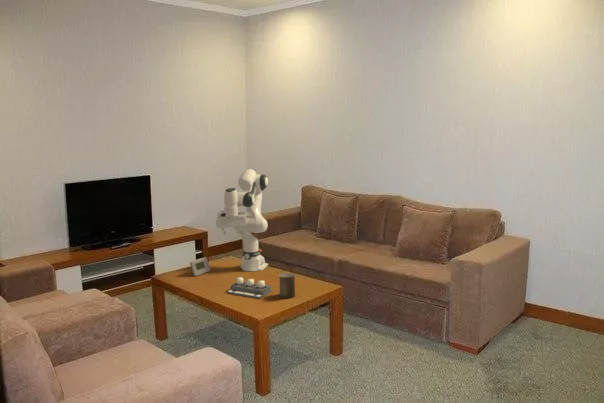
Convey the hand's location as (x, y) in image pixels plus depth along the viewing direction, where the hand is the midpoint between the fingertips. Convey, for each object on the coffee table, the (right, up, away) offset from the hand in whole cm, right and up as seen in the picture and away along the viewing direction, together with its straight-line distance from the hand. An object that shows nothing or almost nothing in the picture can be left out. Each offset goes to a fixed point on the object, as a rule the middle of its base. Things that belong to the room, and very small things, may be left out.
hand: (231, 233), depth 322 cm
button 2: (+13, -34, -7) cm, 37 cm away
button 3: (+21, -34, -11) cm, 41 cm away
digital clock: (-27, -31, +31) cm, 52 cm away
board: (+13, -37, -8) cm, 40 cm away
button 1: (+6, -33, -4) cm, 34 cm away
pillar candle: (+37, -39, -14) cm, 56 cm away
